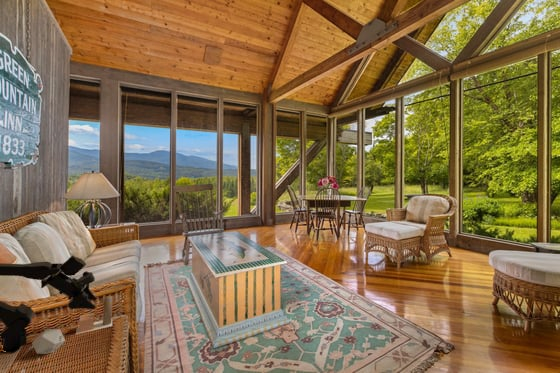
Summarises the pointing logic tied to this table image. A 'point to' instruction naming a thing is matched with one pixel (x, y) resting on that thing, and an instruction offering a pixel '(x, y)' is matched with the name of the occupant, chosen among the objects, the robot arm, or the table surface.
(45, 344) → the die
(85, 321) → the cube
